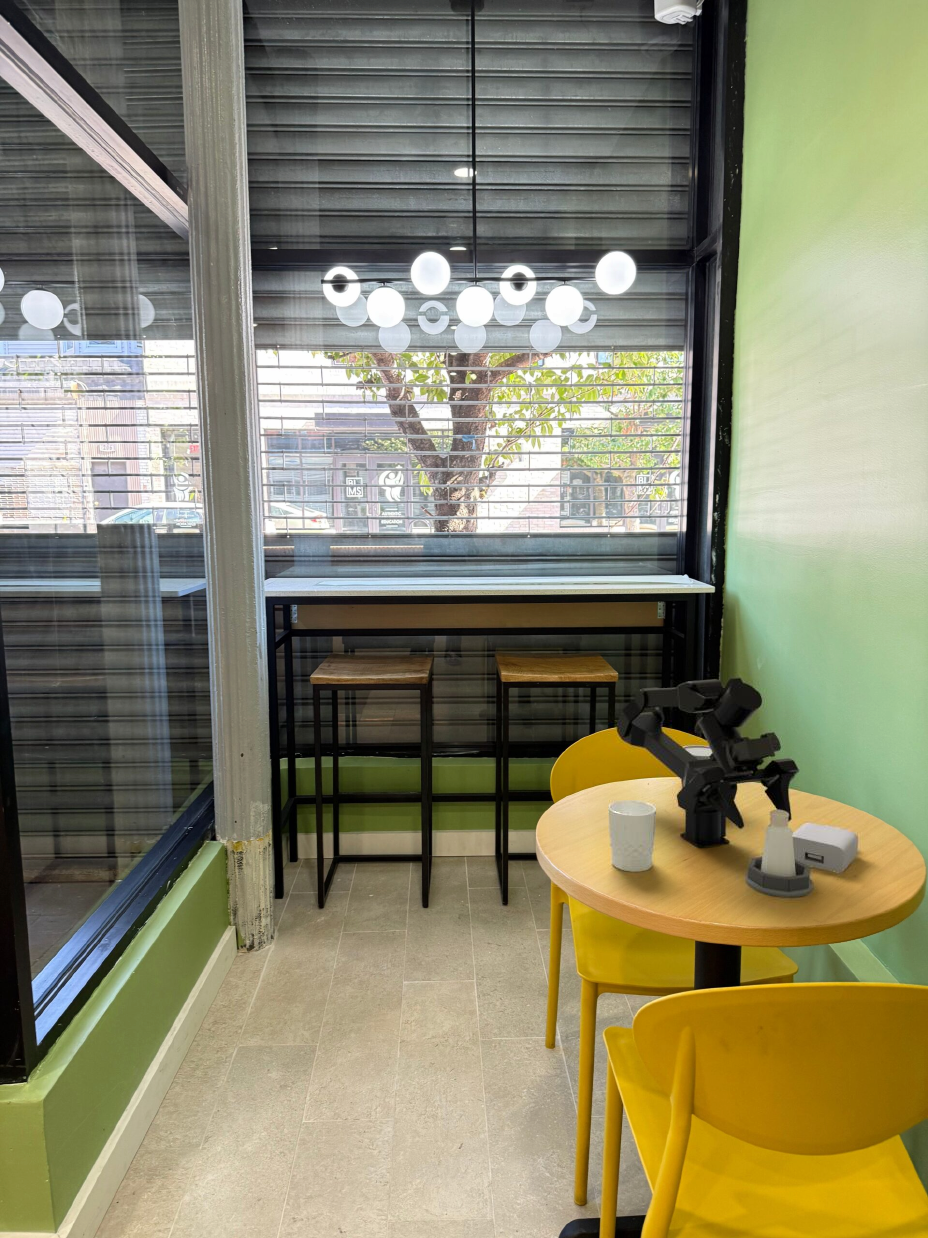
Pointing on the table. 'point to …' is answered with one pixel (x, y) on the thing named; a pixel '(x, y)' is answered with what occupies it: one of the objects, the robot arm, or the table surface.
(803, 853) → the charger
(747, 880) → the grey octagonal tray
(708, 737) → the robot arm
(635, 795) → the table surface
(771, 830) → the pepper shaker
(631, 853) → the white cup
